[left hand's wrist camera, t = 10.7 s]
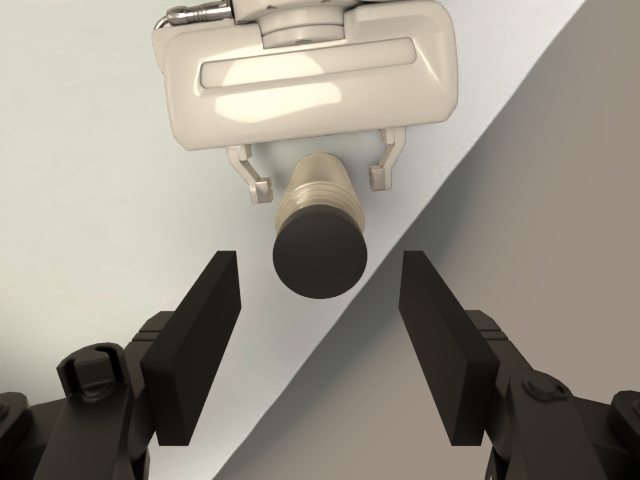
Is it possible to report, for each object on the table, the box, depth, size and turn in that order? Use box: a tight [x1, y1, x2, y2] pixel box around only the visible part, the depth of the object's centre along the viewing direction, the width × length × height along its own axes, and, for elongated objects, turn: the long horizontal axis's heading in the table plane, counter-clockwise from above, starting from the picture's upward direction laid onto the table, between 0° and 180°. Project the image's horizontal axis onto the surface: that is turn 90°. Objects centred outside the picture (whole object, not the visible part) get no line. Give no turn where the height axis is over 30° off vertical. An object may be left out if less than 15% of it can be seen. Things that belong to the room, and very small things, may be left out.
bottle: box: [275, 152, 365, 235], centre depth 25 cm, size 6×6×18 cm
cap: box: [273, 204, 367, 299], centre depth 17 cm, size 5×4×2 cm
